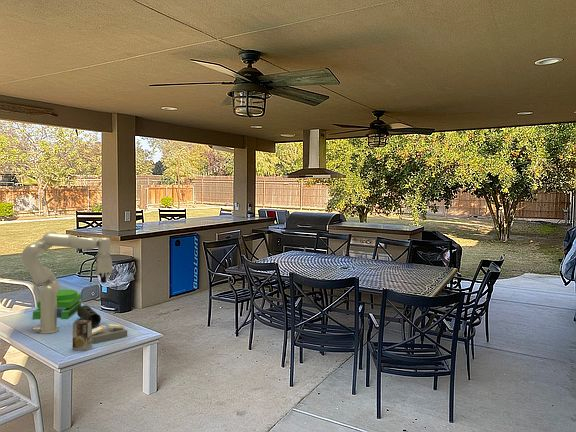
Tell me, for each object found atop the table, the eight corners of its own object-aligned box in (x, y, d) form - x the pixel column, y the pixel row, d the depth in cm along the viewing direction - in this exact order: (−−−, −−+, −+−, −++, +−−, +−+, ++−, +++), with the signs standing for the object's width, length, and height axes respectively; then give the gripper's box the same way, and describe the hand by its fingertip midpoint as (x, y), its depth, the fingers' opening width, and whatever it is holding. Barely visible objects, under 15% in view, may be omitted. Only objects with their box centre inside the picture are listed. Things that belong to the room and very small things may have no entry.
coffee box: (92, 346, 262) (92, 320, 261) (87, 350, 255) (88, 323, 255) (76, 346, 262) (77, 319, 261) (71, 349, 255) (72, 322, 254)
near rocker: (92, 334, 269) (91, 333, 269) (88, 333, 272) (88, 331, 272) (106, 328, 275) (105, 326, 275) (102, 326, 279) (102, 324, 279)
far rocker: (110, 327, 278) (111, 325, 278) (107, 326, 281) (107, 324, 281) (123, 328, 284) (124, 326, 284) (120, 326, 288) (120, 324, 288)
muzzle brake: (86, 329, 295) (87, 314, 294) (76, 319, 316) (76, 305, 316) (101, 327, 301) (101, 312, 300) (90, 317, 322) (90, 303, 322)
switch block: (93, 343, 266) (93, 335, 266) (85, 339, 274) (85, 331, 274) (127, 336, 283) (127, 328, 282) (118, 332, 291) (118, 324, 290)
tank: (28, 322, 306) (28, 299, 306) (48, 309, 341) (48, 288, 340) (65, 322, 310) (65, 300, 309) (81, 309, 345) (81, 289, 344)
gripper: (95, 257, 286) (94, 284, 286) (117, 255, 297) (116, 282, 297) (90, 255, 291) (89, 283, 291) (112, 254, 302) (111, 280, 302)
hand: (103, 282), depth 294 cm, fingers closed
